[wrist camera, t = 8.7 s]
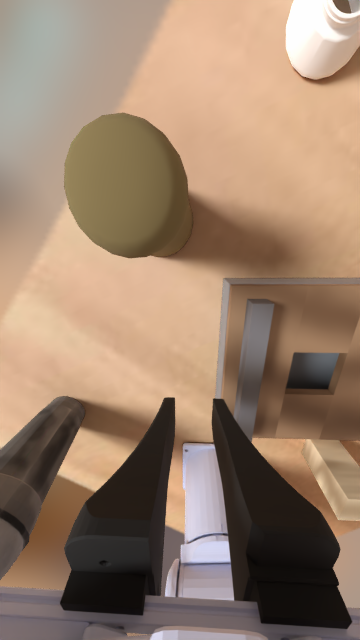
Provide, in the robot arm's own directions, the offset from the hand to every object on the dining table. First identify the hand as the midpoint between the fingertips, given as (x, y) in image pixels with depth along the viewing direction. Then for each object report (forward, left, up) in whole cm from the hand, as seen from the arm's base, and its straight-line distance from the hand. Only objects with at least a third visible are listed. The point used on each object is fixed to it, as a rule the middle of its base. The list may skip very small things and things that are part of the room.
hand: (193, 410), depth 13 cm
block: (-15, -17, -9) cm, 24 cm away
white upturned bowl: (+23, -9, -10) cm, 27 cm away
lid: (-1, -14, -6) cm, 15 cm away
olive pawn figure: (+12, +3, -10) cm, 16 cm away
